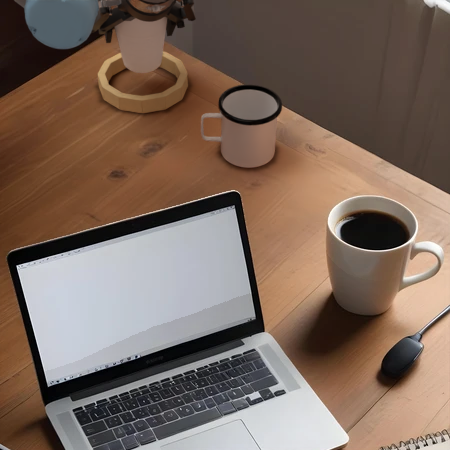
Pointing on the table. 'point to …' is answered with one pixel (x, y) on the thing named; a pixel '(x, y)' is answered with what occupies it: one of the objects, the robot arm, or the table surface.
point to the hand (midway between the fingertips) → (137, 31)
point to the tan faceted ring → (148, 101)
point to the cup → (141, 44)
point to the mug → (247, 124)
